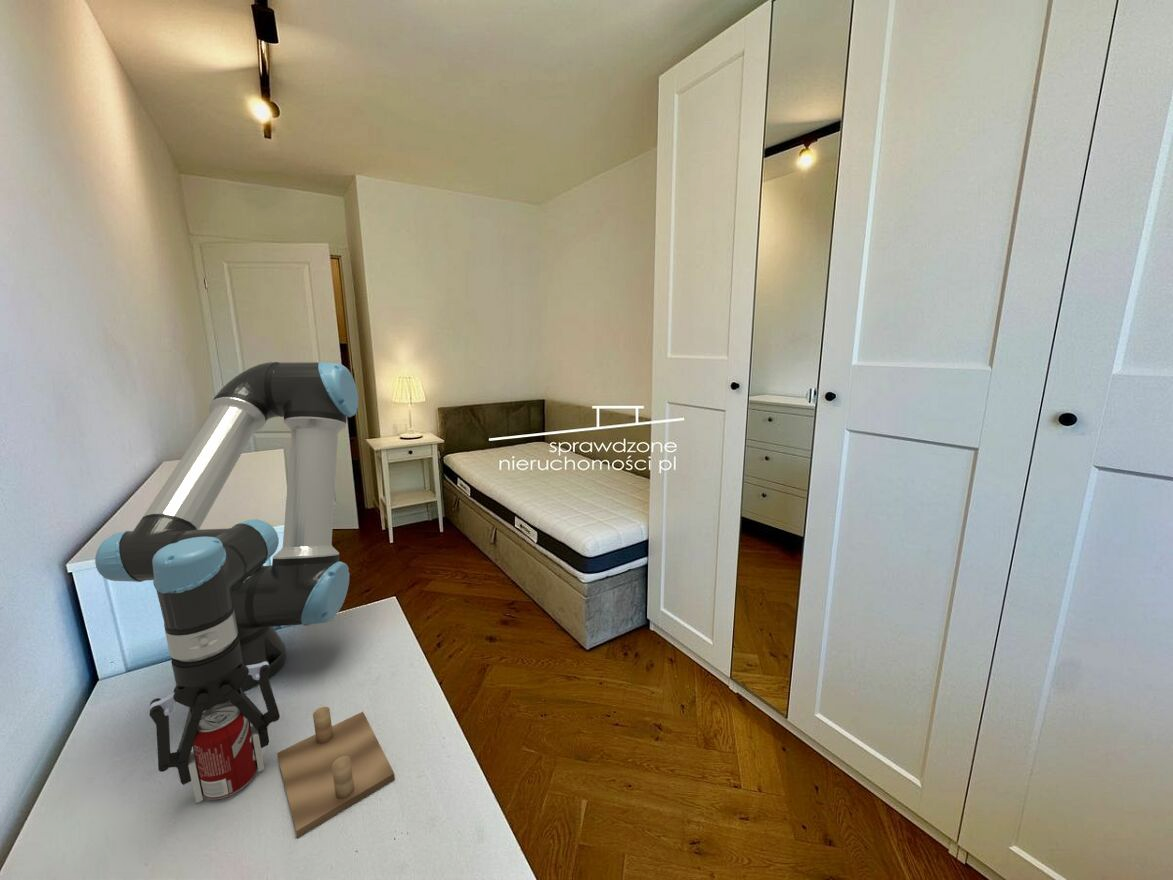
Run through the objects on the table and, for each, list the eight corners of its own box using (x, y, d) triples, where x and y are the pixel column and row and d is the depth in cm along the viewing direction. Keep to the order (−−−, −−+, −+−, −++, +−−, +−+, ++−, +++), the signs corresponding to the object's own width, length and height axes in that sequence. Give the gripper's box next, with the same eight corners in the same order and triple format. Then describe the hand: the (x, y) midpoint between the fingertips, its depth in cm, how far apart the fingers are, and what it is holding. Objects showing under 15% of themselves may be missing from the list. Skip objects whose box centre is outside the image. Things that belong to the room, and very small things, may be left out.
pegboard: (277, 759, 74) (272, 726, 73) (363, 717, 82) (360, 687, 81) (297, 838, 62) (291, 801, 61) (394, 779, 71) (391, 746, 69)
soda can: (228, 807, 66) (215, 737, 64) (190, 798, 68) (176, 729, 65) (269, 766, 73) (258, 701, 70) (233, 758, 74) (221, 694, 72)
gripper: (103, 695, 56) (140, 844, 61) (291, 630, 69) (309, 758, 74) (110, 663, 62) (143, 802, 66) (282, 609, 74) (300, 729, 79)
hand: (230, 779), depth 70 cm, fingers closed on soda can, 7 cm apart
